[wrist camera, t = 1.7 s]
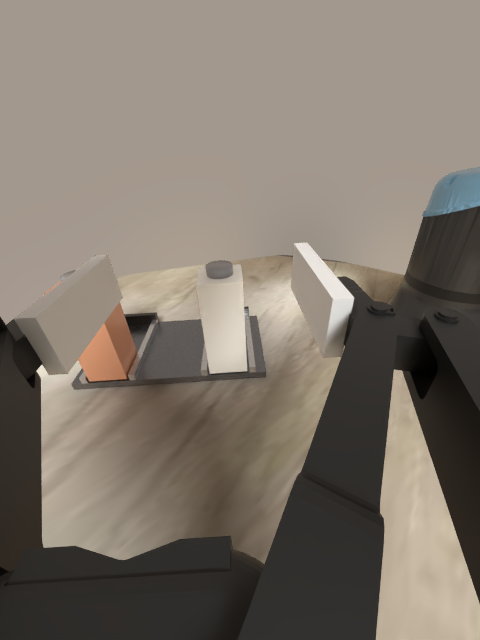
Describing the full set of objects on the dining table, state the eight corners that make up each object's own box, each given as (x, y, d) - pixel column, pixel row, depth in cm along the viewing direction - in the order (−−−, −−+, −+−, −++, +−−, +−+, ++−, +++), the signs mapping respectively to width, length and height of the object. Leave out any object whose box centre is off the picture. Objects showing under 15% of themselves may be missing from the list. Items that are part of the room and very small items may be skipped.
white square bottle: (245, 347, 39) (240, 256, 31) (247, 371, 34) (242, 272, 27) (211, 349, 39) (198, 258, 31) (209, 373, 34) (194, 275, 27)
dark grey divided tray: (256, 320, 47) (256, 306, 45) (265, 376, 35) (266, 360, 34) (112, 329, 47) (107, 315, 45) (74, 389, 35) (65, 373, 33)
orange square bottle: (137, 354, 39) (106, 264, 31) (127, 379, 34) (87, 282, 27) (104, 356, 39) (64, 267, 31) (89, 381, 34) (39, 285, 27)
